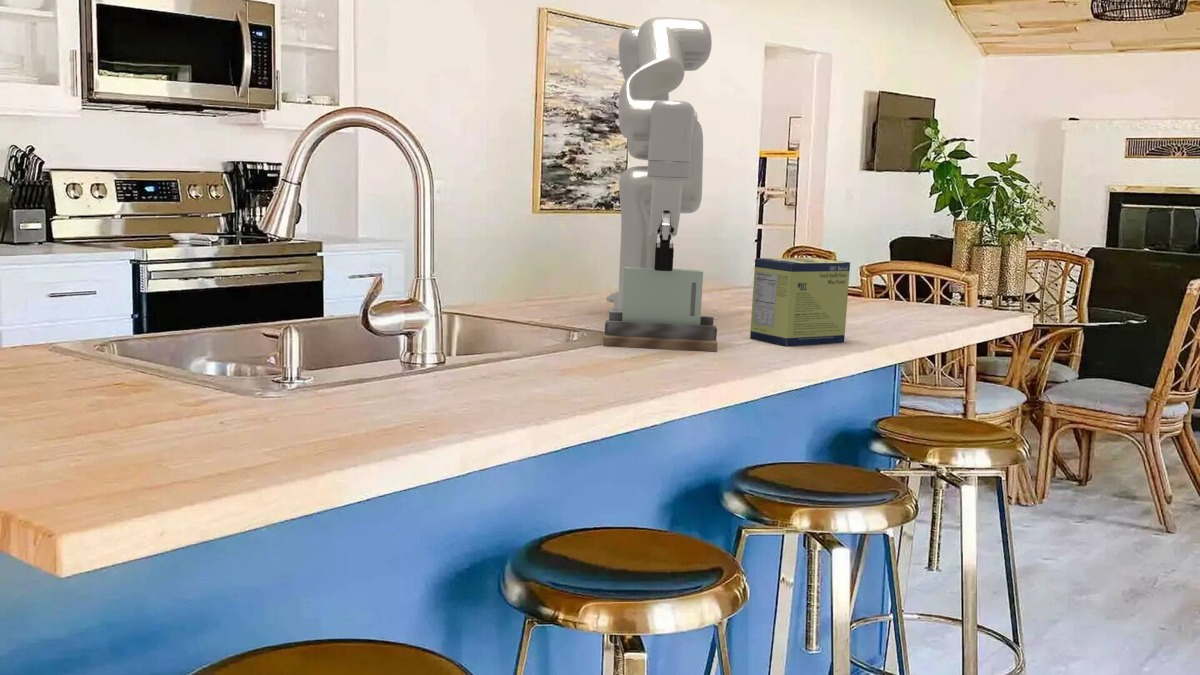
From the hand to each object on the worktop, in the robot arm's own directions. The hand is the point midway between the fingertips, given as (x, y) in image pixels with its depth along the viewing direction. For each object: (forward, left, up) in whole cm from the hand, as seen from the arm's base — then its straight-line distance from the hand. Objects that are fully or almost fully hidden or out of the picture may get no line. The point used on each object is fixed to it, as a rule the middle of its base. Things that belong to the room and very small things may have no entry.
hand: (663, 267), depth 211 cm
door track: (0, 0, -14) cm, 14 cm away
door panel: (0, 0, -12) cm, 12 cm away
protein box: (+12, +27, -14) cm, 32 cm away
